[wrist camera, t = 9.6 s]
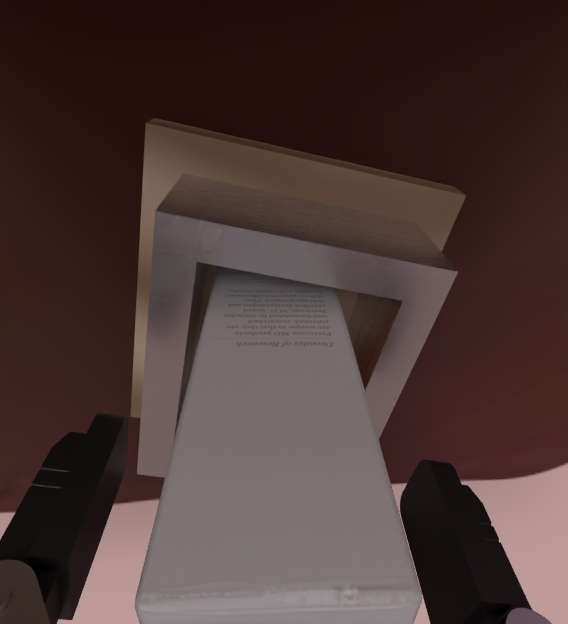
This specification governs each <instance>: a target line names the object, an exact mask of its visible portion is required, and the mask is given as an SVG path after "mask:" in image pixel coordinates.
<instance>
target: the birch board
mask: <svg viewBox="0 0 568 624" xmlns="http://www.w3.org/2000/svg"><path fill="white" fill-rule="evenodd" d="M183 173H186V174H190V175H195V176H200V177H204V178H209V179H214V180H218V181H223V182H228V183H232V184H237V185H242V186H246V187H251V188H255V189H260V190H265V191H269V192H274V193H279V194H283V195H288V196H293V197H297V198H302V199H307V200H311V201H316V202H321V203H325V204H330V205H335V206H339V207H344V208H349V209H353V210H358V211H362V212H367V213H372V214H376V215H381V216H386V217H390V218H395V219H400V220H404V221H409V222H414V223H418V224H419V226H420V227H421V228H422V229H423V230H424V232H425V233H426V234H427V235H428V236H429V238H430V239H431V240H432V241H433V242H434V244H435V245H436V246H437V247H438V248H439V250H440V251H441V252H442V250H443V247H444V245H445V243H446V240H447V238H448V236H449V234H450V231H451V229H452V227H453V225H454V222H455V220H456V218H457V216H458V213H459V211H460V209H461V206H462V204H463V202H464V200H465V197H466V195H464V194H463V193H462V192H460V191H459V190H458V189H456V188H455V187H454V186H449V185H445V184H441V183H436V182H432V181H428V180H423V179H419V178H414V177H410V176H406V175H401V174H397V173H393V172H388V171H384V170H380V169H375V168H371V167H367V166H362V165H358V164H353V163H349V162H345V161H340V160H336V159H332V158H327V157H323V156H319V155H314V154H310V153H306V152H301V151H297V150H292V149H288V148H284V147H279V146H275V145H271V144H266V143H262V142H258V141H253V140H249V139H245V138H240V137H236V136H231V135H227V134H223V133H218V132H214V131H210V130H205V129H201V128H197V127H192V126H188V125H183V124H179V123H175V122H170V121H166V120H162V119H157V118H154V119H152V120H150V121H148V122H147V123H146V128H145V147H144V167H143V186H142V205H141V224H140V243H139V263H138V282H137V301H136V320H135V340H134V359H133V378H132V397H131V416H130V417H136V418H141V408H142V393H143V379H144V364H145V350H146V335H147V321H148V306H149V292H150V277H151V263H152V248H153V234H154V219H155V210H156V209H157V208H158V206H159V205H160V204H161V202H162V201H163V199H164V198H165V197H166V195H167V194H168V193H169V191H170V190H171V189H172V187H173V186H174V185H175V183H176V182H177V181H178V179H179V178H180V176H181V175H182V174H183ZM216 270H217V266H216V265H211V264H207V267H206V274H205V281H204V288H203V295H202V302H201V309H200V316H199V323H198V331H197V338H196V345H195V352H194V358H195V355H196V351H197V347H198V343H199V339H200V335H201V331H202V327H203V323H204V319H205V315H206V311H207V307H208V303H209V299H210V295H211V291H212V286H213V282H214V278H215V274H216ZM336 290H337V293H338V297H339V301H340V304H341V308H342V311H343V315H344V319H345V322H346V325H347V326H348V323H349V320H350V317H351V314H352V311H353V309H354V306H355V303H356V300H357V297H358V294H359V292H354V291H349V290H343V289H338V288H336ZM193 362H194V359H193Z"/></svg>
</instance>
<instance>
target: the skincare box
mask: <svg viewBox="0 0 568 624" xmlns="http://www.w3.org/2000/svg"><path fill="white" fill-rule="evenodd" d="M421 602H422V593H421V589H420V587H419V583H418V580H417V576H416V572H415V568H414V565H413V561H412V558H411V554H410V551H409V547H408V543H407V540H406V536H405V532H404V529H403V526H402V522H401V519H400V515H399V511H398V508H397V504H396V501H395V497H394V494H393V490H392V487H391V483H390V479H389V476H388V472H387V469H386V465H385V462H384V458H383V455H382V451H381V447H380V443H379V439H378V436H377V432H376V429H375V425H374V422H373V419H372V416H371V411H370V407H369V404H368V400H367V397H366V393H365V389H364V386H363V383H362V378H361V375H360V372H359V368H358V364H357V361H356V357H355V353H354V350H353V346H352V343H351V339H350V336H349V332H348V329H347V325H346V322H345V319H344V315H343V311H342V308H341V304H340V301H339V297H338V293H337V290H336V288H333V287H327V286H322V285H317V284H312V283H306V282H301V281H296V280H290V279H285V278H280V277H275V276H269V275H264V274H259V273H253V272H248V271H243V270H238V269H232V268H227V267H222V266H217V270H216V274H215V278H214V282H213V286H212V291H211V295H210V299H209V303H208V307H207V311H206V315H205V319H204V323H203V327H202V331H201V335H200V339H199V343H198V347H197V351H196V355H195V358H194V362H193V366H192V371H191V375H190V379H189V383H188V387H187V391H186V395H185V399H184V402H183V406H182V410H181V414H180V418H179V423H178V427H177V431H176V435H175V439H174V443H173V447H172V451H171V455H170V459H169V463H168V467H167V472H166V476H165V480H164V484H163V488H162V492H161V496H160V501H159V505H158V509H157V514H156V517H155V521H154V526H153V529H152V533H151V538H150V542H149V546H148V550H147V554H146V558H145V562H144V566H143V570H142V574H141V579H140V582H139V587H138V590H137V594H136V600H135V609H136V613H137V616H138V619H139V622H140V624H413V623H414V620H415V617H416V615H417V612H418V610H419V607H420V605H421Z"/></svg>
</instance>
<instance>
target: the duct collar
mask: <svg viewBox="0 0 568 624" xmlns="http://www.w3.org/2000/svg"><path fill="white" fill-rule="evenodd" d="M207 264H211V265H216V266H222V267H227V268H232V269H238V270H243V271H248V272H253V273H259V274H264V275H269V276H275V277H280V278H285V279H290V280H296V281H301V282H306V283H312V284H317V285H322V286H327V287H333V288H338V289H343V290H349V291H354V292H359V294H358V297H357V300H356V303H355V306H354V309H353V311H352V314H351V317H350V320H349V323H348V326H347V329H348V332H349V336H350V339H351V343H352V346H353V350H354V353H355V357H356V361H357V364H358V368H359V372H360V375H361V378H362V383H363V386H364V389H365V393H366V397H367V400H368V404H369V407H370V411H371V416H372V419H373V422H374V425H375V429H376V432H377V436H378V439H379V438H380V436H381V434H382V431H383V429H384V427H385V425H386V423H387V421H388V419H389V417H390V415H391V412H392V410H393V408H394V406H395V404H396V402H397V400H398V398H399V396H400V394H401V391H402V389H403V387H404V385H405V383H406V381H407V379H408V377H409V375H410V372H411V370H412V368H413V366H414V364H415V362H416V360H417V358H418V356H419V354H420V351H421V349H422V347H423V345H424V343H425V341H426V339H427V337H428V335H429V333H430V330H431V328H432V326H433V324H434V322H435V320H436V318H437V316H438V314H439V311H440V309H441V307H442V305H443V303H444V301H445V299H446V297H447V295H448V293H449V290H450V288H451V286H452V284H453V282H454V280H455V278H456V276H457V274H458V271H457V270H456V269H455V268H454V266H453V265H452V264H451V263H450V262H449V260H448V259H447V258H446V257H445V256H444V254H443V253H442V252H441V251H440V250H439V248H438V247H437V246H436V245H435V244H434V242H433V241H432V240H431V239H430V238H429V236H428V235H427V234H426V233H425V232H424V230H423V229H422V228H421V227H420V226H419V224H418V223H414V222H409V221H404V220H400V219H395V218H390V217H386V216H381V215H376V214H372V213H367V212H362V211H358V210H353V209H349V208H344V207H339V206H335V205H330V204H325V203H321V202H316V201H311V200H307V199H302V198H297V197H293V196H288V195H283V194H279V193H274V192H269V191H265V190H260V189H255V188H251V187H246V186H242V185H237V184H232V183H228V182H223V181H218V180H214V179H209V178H204V177H200V176H195V175H190V174H186V173H183V174H182V175H181V176H180V178H179V179H178V181H177V182H176V183H175V185H174V186H173V187H172V189H171V190H170V191H169V193H168V194H167V195H166V197H165V198H164V199H163V201H162V202H161V204H160V205H159V206H158V208H157V209H156V210H155V219H154V234H153V248H152V263H151V277H150V292H149V306H148V321H147V335H146V350H145V364H144V379H143V393H142V408H141V422H140V437H139V451H138V466H137V474H140V475H148V476H157V477H165V476H166V472H167V467H168V463H169V459H170V455H171V451H172V447H173V443H174V439H175V435H176V431H177V427H178V423H179V418H180V414H181V410H182V406H183V402H184V399H185V395H186V391H187V387H188V383H189V379H190V375H191V371H192V366H193V359H194V352H195V345H196V338H197V331H198V323H199V316H200V309H201V302H202V295H203V288H204V281H205V274H206V267H207Z"/></svg>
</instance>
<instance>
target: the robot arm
mask: <svg viewBox="0 0 568 624" xmlns="http://www.w3.org/2000/svg"><path fill="white" fill-rule="evenodd" d="M127 441H128V417H122V416H115V415H108V414H100V413H98V414H97V415H96V416H95V418H94V420H93V422H92V424H91V426H90V428H89V430H88V432H87V434H84V433H76V432H69V433H68V434H67V435H66V436H65V437H63V438H62V439H61V440H60V441H59V442H58V443H56V444H55V445H54V446H53V447H52V448H51V450H50V452H49V454H48V455H47V457H46V459H45V461H44V463H43V464H42V466H41V470H40V471H39V472H38V473H37V475H36V477H35V479H34V481H33V482H32V486H31V487H30V488H29V490H28V491H27V493H26V495H25V497H24V498H23V500H22V502H21V504H20V506H19V507H18V509H17V511H16V513H15V515H14V516H13V518H12V520H11V522H10V524H9V525H8V527H7V529H6V531H5V533H4V535H3V536H2V538H1V540H0V624H57V621H58V619H66V620H72V619H73V616H74V613H75V610H76V607H77V605H78V602H79V599H80V596H81V593H82V590H83V588H84V585H85V582H86V579H87V577H88V574H89V571H90V568H91V565H92V562H93V560H94V557H95V554H96V551H97V548H98V545H99V543H100V540H101V537H102V534H103V531H104V528H105V526H106V523H107V520H108V517H109V514H110V511H111V509H112V506H113V503H114V500H115V497H116V494H117V492H118V489H119V486H120V483H121V480H122V477H123V473H124V469H125V464H126V458H127ZM400 512H401V517H402V521H403V525H404V528H405V532H406V535H407V539H408V543H409V547H410V550H411V554H412V557H413V561H414V565H415V568H416V572H417V576H418V579H419V583H420V587H421V590H422V594H423V598H424V601H425V605H426V609H427V612H428V616H429V619H430V623H431V624H551V623H550V622H549V621H548V620H547V619H546V618H545V617H543V616H542V615H540V614H538V613H537V612H535V611H533V610H532V608H531V607H530V605H529V603H528V601H527V599H526V596H525V594H524V592H523V590H522V588H521V585H520V583H519V581H518V579H517V577H516V575H515V573H514V571H513V568H512V566H511V564H510V562H509V560H508V557H507V556H506V553H505V551H504V549H503V547H502V544H501V543H499V541H498V540H499V538H498V536H497V534H496V531H495V529H494V527H493V526H491V521H490V518H489V517H488V514H487V512H486V510H485V508H484V506H483V503H482V502H481V501H480V500H479V498H478V497H477V496H476V495H475V494H474V492H473V491H472V490H471V489H470V488H469V487H468V486H467V485H462V484H461V482H460V480H459V477H458V475H457V473H456V470H455V468H454V467H453V466H452V465H451V464H450V463H445V462H438V461H430V460H422V461H421V462H420V463H419V464H418V466H417V468H416V470H415V471H414V473H413V475H412V477H411V478H410V480H409V482H408V484H407V485H406V487H405V489H404V491H403V493H402V496H401V500H400Z"/></svg>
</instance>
